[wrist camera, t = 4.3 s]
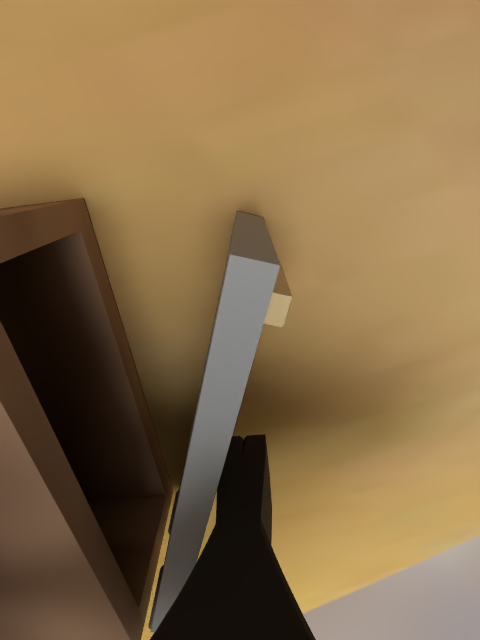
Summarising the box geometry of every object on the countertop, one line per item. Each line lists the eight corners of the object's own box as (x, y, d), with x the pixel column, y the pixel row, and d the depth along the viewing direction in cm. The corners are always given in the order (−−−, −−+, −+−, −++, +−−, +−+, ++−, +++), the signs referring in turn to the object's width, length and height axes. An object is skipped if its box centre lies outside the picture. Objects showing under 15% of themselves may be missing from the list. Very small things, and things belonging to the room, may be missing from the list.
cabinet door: (175, 497, 15) (145, 640, 11) (233, 210, 10) (223, 252, 5) (207, 502, 15) (191, 646, 11) (282, 221, 10) (316, 273, 5)
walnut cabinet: (40, 500, 16) (-57, 660, 11) (-119, 224, 10) (-480, 285, 5) (172, 491, 15) (137, 653, 10) (83, 198, 10) (-91, 236, 5)
